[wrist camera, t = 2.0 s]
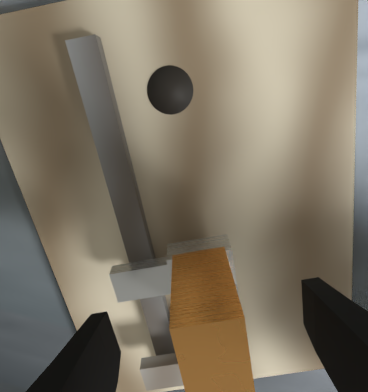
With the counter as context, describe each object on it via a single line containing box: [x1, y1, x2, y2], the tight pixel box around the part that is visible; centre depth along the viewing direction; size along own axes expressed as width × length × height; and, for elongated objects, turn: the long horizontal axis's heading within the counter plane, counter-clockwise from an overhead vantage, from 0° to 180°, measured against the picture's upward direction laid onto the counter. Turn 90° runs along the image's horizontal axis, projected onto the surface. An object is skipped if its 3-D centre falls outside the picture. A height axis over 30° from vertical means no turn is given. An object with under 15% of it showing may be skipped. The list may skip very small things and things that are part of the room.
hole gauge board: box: [0, 0, 358, 392], centre depth 14 cm, size 16×22×4 cm
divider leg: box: [109, 234, 255, 392], centre depth 12 cm, size 6×3×7 cm, turn 100°
